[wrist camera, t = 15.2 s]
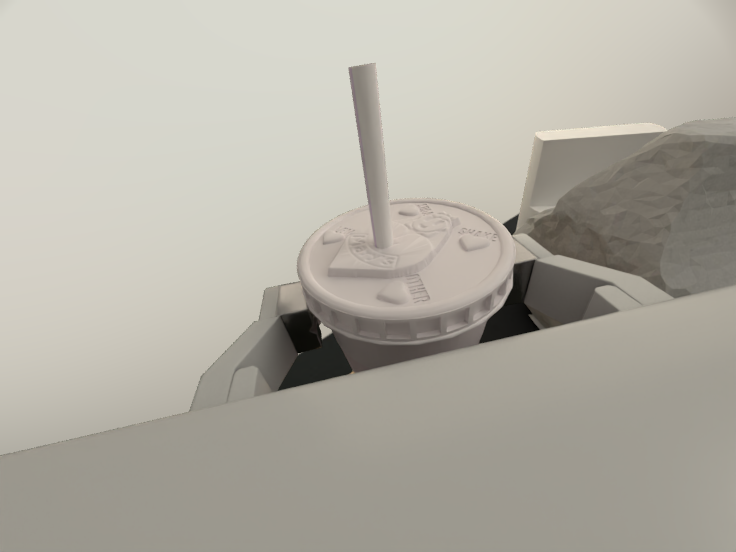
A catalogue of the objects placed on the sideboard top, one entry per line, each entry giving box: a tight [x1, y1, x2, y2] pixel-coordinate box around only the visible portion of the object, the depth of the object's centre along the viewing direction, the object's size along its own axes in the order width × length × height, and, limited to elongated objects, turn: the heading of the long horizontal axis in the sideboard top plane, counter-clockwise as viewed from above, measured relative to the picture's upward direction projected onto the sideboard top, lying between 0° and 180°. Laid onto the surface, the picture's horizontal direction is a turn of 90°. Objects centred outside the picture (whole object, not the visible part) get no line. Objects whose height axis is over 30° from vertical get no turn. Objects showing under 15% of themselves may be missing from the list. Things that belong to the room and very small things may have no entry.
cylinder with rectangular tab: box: [516, 123, 668, 231], centre depth 28 cm, size 9×9×12 cm
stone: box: [513, 117, 736, 330], centre depth 18 cm, size 12×12×15 cm
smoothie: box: [297, 63, 516, 373], centre depth 10 cm, size 6×6×14 cm
